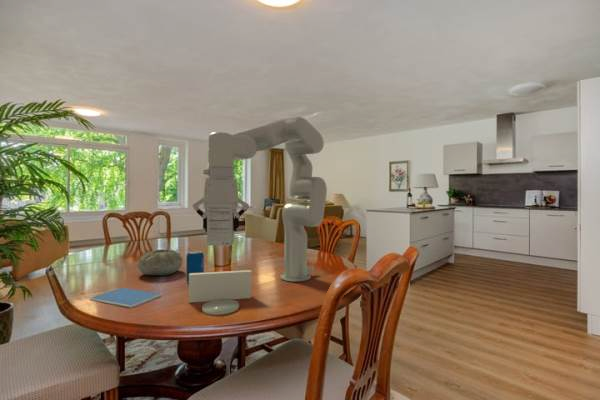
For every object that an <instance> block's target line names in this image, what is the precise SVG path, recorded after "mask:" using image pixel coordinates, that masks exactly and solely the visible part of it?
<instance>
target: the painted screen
mask: <svg viewBox="0 0 600 400" xmlns="http://www.w3.org/2000/svg"><path fill="white" fill-rule="evenodd" d="M220 299H229V300H242V299H243V300H244V299H252V270H251V269H250V270H249V269H247V270H246V269H245V270H244V269H243V270H229V271H228V270H227V271H210V272H209V271H208V272H204V273H189V283H188V303H189V304H190V303H200V302H202V303H203V302H210V301H214V300H220Z"/></svg>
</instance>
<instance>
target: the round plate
mask: <svg viewBox="0 0 600 400" xmlns="http://www.w3.org/2000/svg"><path fill="white" fill-rule="evenodd" d="M201 308H202V309H201V310H202V312H203V314H206V315H209V316H223V315H228V314H233V313H235V312H236V311H238V310H239V308H240V303H239V301H237V300H235V299H231V300H229V299H220V300H214V301H206V302H205V303H204V304H203V305H202V307H201Z"/></svg>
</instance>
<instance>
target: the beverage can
mask: <svg viewBox="0 0 600 400" xmlns="http://www.w3.org/2000/svg"><path fill="white" fill-rule="evenodd" d="M204 256H205V254H204V253H203V250H189V251H187V254H186V259H185V260H186V263H185V264H186V283H188V284H189V273H205V265H204V264H205V261H204V260H205V257H204Z"/></svg>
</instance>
